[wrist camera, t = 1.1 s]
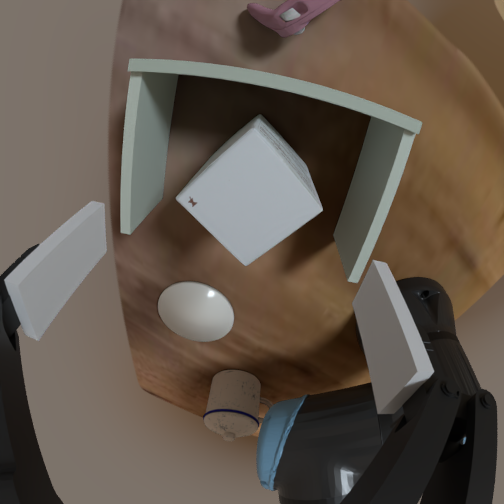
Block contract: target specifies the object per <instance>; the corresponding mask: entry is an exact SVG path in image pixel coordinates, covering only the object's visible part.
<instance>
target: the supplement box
mask: <svg viewBox="0 0 504 504" xmlns="http://www.w3.org/2000/svg"><path fill="white" fill-rule="evenodd" d="M176 200H177V201H178V202H179V203H180V204H181V205H182V206H183V207H184V208H185V209H186V210H187V211H188V212H189V213H191V214H192V215H193V216H194V217H195V218H196V219H197V220H198V221H199V222H200V223H201V224H202V225H203V226H204V227H205V228H206V229H207V230H208V231H209V232H210V233H211V234H212V235H213V236H214V237H215V238H216V239H217V240H218V241H219V242H220V243H221V244H222V245H223V246H224V247H225V248H227V249H228V250H229V251H230V252H231V253H232V254H233V255H234V256H235V257H236V258H237V259H238V260H239V261H240V262H241V263H242V264H243V265H245V266H247V265H249V264H250V263H252V262H253V261H254V260H256V259H257V258H259V257H260V256H261V255H263V254H264V253H266V252H267V251H268V250H270V249H271V248H272V247H274V246H275V245H277V244H278V243H279V242H281V241H282V240H283V239H285V238H286V237H288V236H289V235H290V234H292V233H293V232H294V231H296V230H297V229H299V228H300V227H301V226H303V225H304V224H305V223H307V222H308V221H309V220H311V219H312V218H314V217H315V216H316V215H318V214H319V213H320V212H322V211H323V208H322V205H321V203H320V200H319V197H318V194H317V192H316V189H315V187H314V184H313V182H312V179H311V176H310V174H309V171H308V168H307V165H306V164H305V163H304V162H303V160H302V159H301V158H300V157H299V156H298V155H297V153H296V152H295V151H294V150H293V149H292V148H291V146H290V145H289V144H288V143H287V142H286V141H285V140H284V138H283V137H282V136H281V135H280V134H279V133H278V132H277V131H276V129H275V128H274V127H273V126H272V125H271V124H270V123H269V122H268V121H267V120H266V119H265V118H264V117H263V116H262V115H261V114H259V115H258V116H256V117H255V118H254V119H252V120H251V121H250V122H249V123H247V124H246V125H245V126H244V127H243V128H241V129H240V130H239V131H238V132H237V133H235V134H234V135H233V136H232V137H231V138H230V139H229V140H228V141H227V142H225V143H224V144H223V145H222V146H221V147H220V148H219V149H218V150H217V151H216V152H215V153H214V154H213V155H212V156H211V157H210V158H209V160H208V161H207V162H206V163H205V164H204V165H203V166H202V167H201V169H200V170H199V171H198V172H197V173H196V174H195V175H194V177H193V178H192V179H191V180H190V181H189V182H188V184H187V185H186V186H185V187H184V188H183V190H182V191H181V192H180V193H179V194H178V196H177V197H176Z"/></svg>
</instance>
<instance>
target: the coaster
mask: <svg viewBox="0 0 504 504" xmlns="http://www.w3.org/2000/svg"><path fill="white" fill-rule="evenodd" d="M158 312H159V315H160V317H161V319H162V321H163V322H164V323H165V325H166V326H167V327H168V328H169V329H171V330H172V331H173V332H174V333H176V334H178V335H180V336H182V337H184V338H186V339H189V340H193V341H201V342H208V341H214V340H217V339H220V338H222V337H223V336H225V335H226V334H227V333H228V332H229V331H230V330H231V328H232V326H233V322H234V311H233V308H232V306H231V304H230V302H229V300H228V299H227V298H226V297H225V296H224V295H223V294H222V293H221V292H219V291H218V290H217V289H215V288H213V287H211V286H209V285H207V284H204V283H200V282H195V281H181V282H177V283H174V284H172V285H170V286H168V287H167V288H166V289H165V290H164V291H163V292H162V294H161V296H160V298H159V301H158Z"/></svg>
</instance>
